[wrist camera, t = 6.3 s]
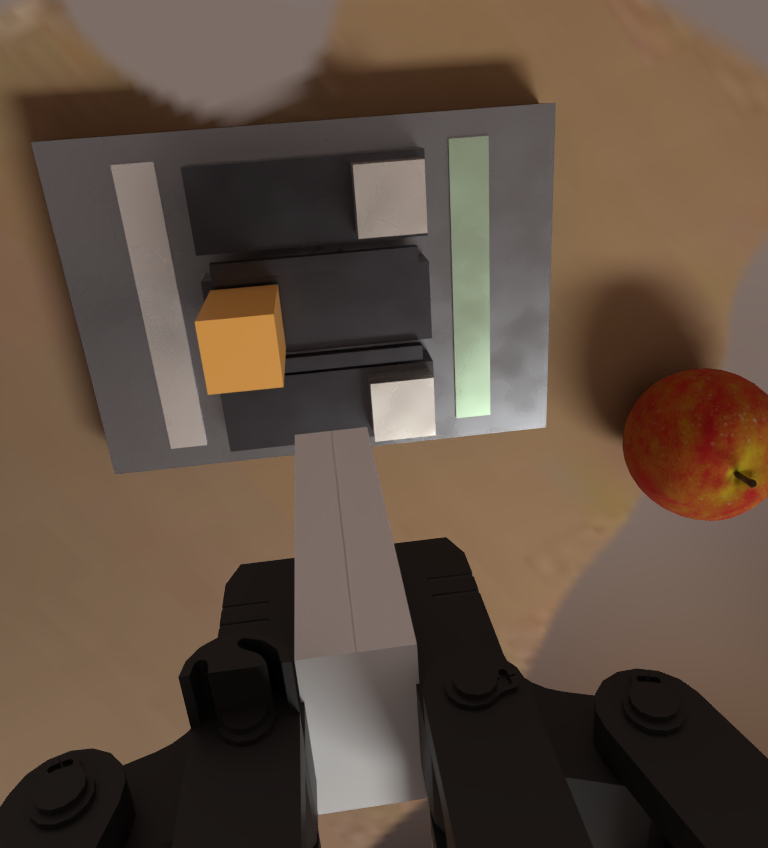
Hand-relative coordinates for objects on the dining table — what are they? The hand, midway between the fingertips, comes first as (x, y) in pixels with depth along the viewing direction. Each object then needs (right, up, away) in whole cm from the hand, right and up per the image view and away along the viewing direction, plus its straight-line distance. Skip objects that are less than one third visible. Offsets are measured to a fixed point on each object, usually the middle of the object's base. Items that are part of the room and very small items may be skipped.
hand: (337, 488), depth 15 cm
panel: (-2, +7, +17) cm, 18 cm away
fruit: (+15, +2, +21) cm, 26 cm away
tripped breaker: (-4, +6, +13) cm, 15 cm away
